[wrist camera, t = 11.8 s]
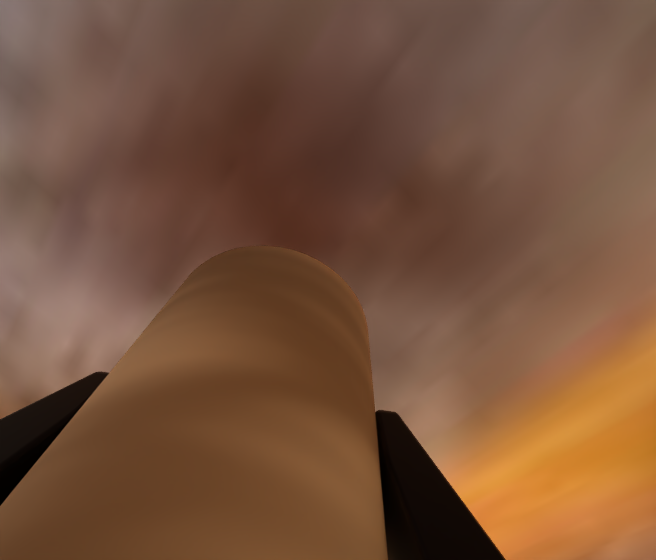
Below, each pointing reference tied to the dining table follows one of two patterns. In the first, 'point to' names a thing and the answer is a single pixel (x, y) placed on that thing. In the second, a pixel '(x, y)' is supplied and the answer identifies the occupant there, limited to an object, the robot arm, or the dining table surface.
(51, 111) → the dining table surface
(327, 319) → the wooden peg
